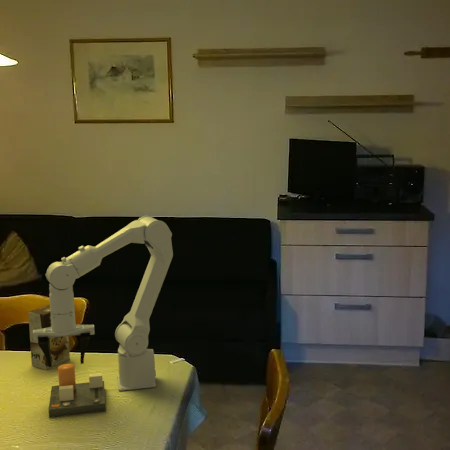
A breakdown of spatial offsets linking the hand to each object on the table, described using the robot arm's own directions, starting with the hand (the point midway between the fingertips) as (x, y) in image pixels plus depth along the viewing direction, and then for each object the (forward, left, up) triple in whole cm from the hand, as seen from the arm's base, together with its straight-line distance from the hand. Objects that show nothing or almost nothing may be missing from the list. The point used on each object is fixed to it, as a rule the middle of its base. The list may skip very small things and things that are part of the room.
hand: (66, 363), depth 151 cm
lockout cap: (0, 0, -7) cm, 7 cm away
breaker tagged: (0, +6, -7) cm, 9 cm away
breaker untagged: (-7, 0, -7) cm, 10 cm away
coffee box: (+6, -24, -9) cm, 26 cm away
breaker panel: (-2, +4, -9) cm, 10 cm away
